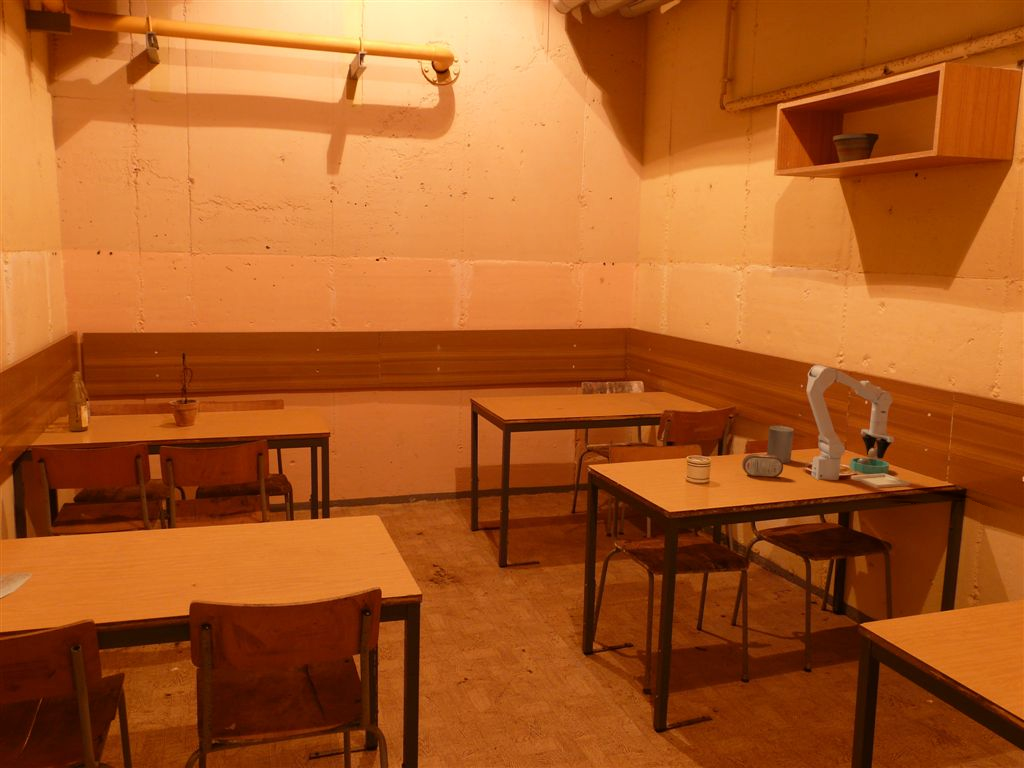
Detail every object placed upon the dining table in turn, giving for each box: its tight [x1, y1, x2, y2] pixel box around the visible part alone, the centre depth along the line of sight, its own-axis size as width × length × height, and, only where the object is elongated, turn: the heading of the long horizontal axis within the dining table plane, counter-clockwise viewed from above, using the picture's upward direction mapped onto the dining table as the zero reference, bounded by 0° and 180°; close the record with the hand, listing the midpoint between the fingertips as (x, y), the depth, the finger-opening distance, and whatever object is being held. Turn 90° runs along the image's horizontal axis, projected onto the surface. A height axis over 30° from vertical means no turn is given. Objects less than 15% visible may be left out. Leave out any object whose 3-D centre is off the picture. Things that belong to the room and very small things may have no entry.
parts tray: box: [850, 473, 911, 489], centre depth 310 cm, size 16×13×2 cm
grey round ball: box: [857, 456, 870, 465], centre depth 327 cm, size 5×5×5 cm
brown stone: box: [867, 446, 880, 460], centre depth 314 cm, size 5×5×5 cm
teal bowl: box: [849, 457, 890, 475], centre depth 328 cm, size 14×14×4 cm
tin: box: [741, 453, 784, 478], centre depth 314 cm, size 15×3×8 cm, turn 84°
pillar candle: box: [766, 424, 795, 464], centre depth 340 cm, size 10×10×15 cm
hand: (874, 456), depth 314 cm, fingers closed on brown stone, 5 cm apart
